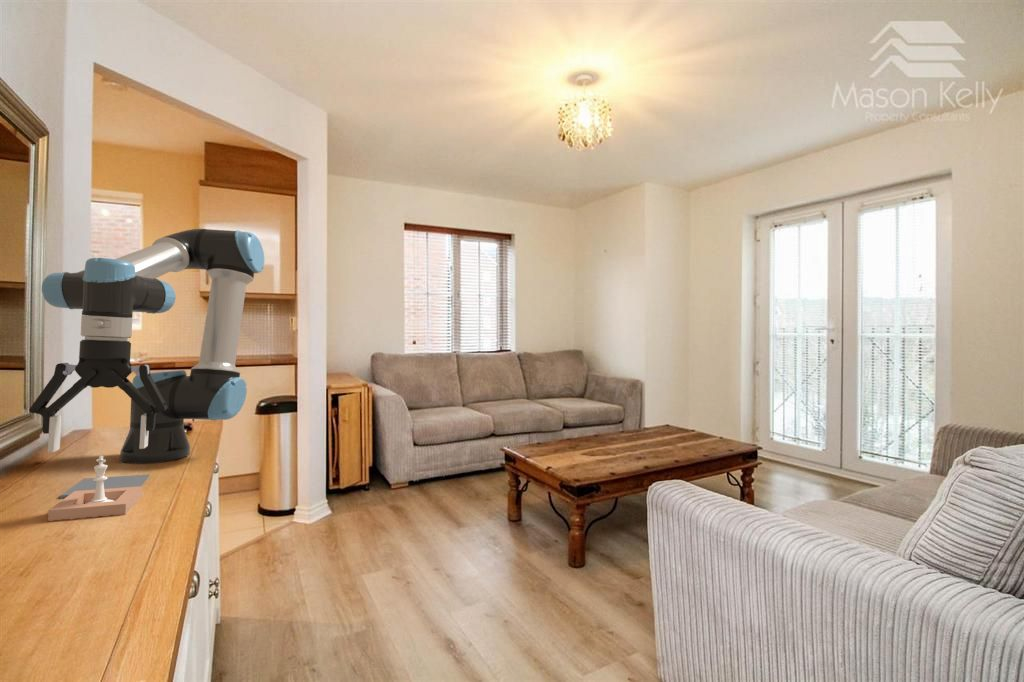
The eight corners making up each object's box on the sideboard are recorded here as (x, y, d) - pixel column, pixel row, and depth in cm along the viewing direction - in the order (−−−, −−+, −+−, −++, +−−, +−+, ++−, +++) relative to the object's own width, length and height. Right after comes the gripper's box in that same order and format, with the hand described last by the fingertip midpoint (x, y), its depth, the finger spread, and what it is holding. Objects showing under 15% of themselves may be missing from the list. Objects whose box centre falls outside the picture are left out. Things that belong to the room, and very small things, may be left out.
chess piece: (95, 513, 89) (97, 460, 89) (74, 510, 90) (77, 458, 90) (122, 504, 93) (124, 454, 93) (102, 502, 94) (104, 452, 94)
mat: (83, 481, 106) (83, 478, 106) (149, 476, 111) (149, 474, 111) (59, 498, 95) (60, 495, 95) (134, 492, 100) (134, 490, 100)
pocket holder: (74, 501, 94) (74, 491, 94) (142, 495, 99) (142, 486, 99) (48, 521, 84) (48, 510, 84) (125, 514, 89) (125, 503, 89)
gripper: (8, 335, 83) (1, 457, 82) (179, 342, 93) (173, 449, 93) (30, 335, 89) (23, 447, 89) (187, 341, 100) (181, 442, 100)
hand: (100, 449), depth 91 cm, fingers open, 13 cm apart
